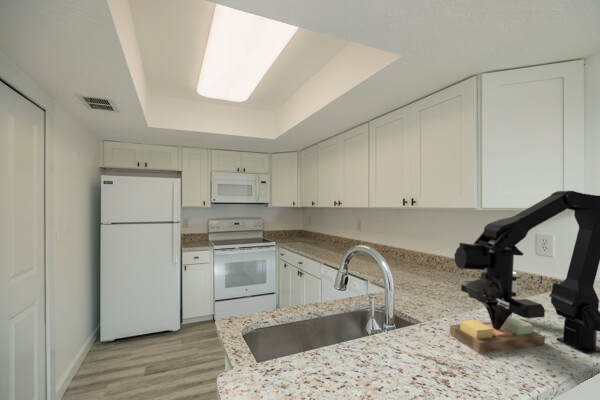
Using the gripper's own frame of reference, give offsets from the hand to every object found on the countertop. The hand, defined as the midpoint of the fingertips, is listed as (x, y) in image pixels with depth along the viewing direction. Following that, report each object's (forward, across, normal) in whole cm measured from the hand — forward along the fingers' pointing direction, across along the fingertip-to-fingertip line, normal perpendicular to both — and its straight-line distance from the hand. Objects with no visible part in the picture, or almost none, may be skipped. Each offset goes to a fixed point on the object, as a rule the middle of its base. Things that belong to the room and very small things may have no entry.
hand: (496, 329), depth 70 cm
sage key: (+1, 0, +6) cm, 6 cm away
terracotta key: (+3, 0, 0) cm, 3 cm away
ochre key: (+1, 0, -7) cm, 7 cm away
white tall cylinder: (+3, -11, +15) cm, 19 cm away
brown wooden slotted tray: (+3, 0, 0) cm, 3 cm away
